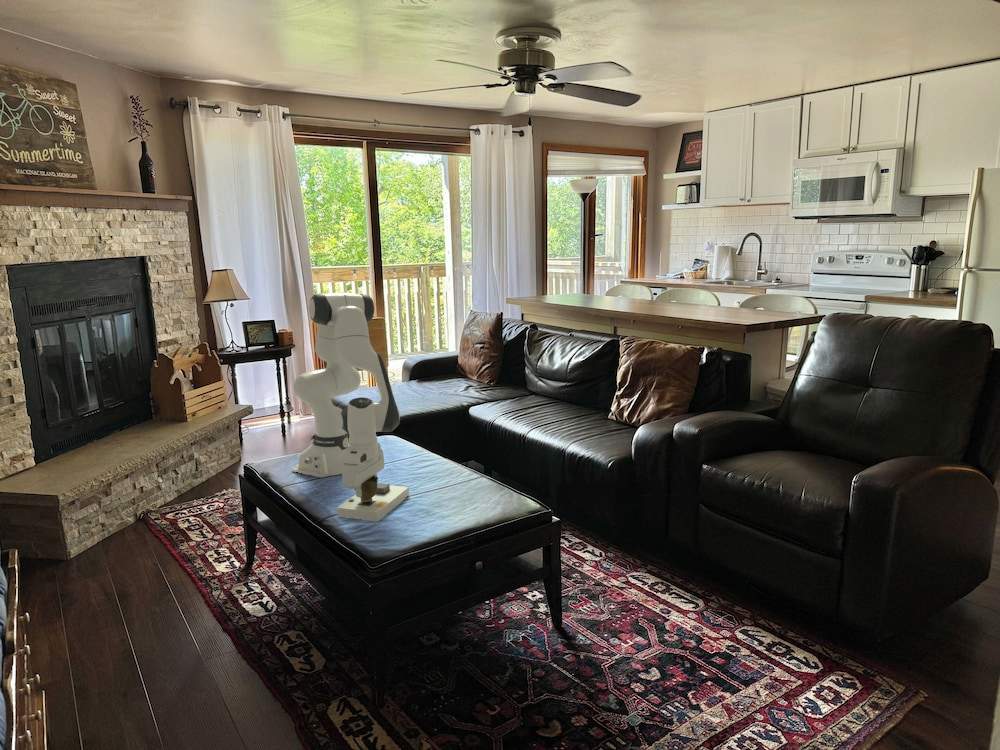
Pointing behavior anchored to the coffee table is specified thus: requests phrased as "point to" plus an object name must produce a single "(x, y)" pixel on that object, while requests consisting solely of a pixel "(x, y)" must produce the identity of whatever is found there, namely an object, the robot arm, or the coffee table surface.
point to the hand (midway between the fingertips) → (365, 492)
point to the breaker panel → (373, 505)
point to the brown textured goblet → (369, 489)
